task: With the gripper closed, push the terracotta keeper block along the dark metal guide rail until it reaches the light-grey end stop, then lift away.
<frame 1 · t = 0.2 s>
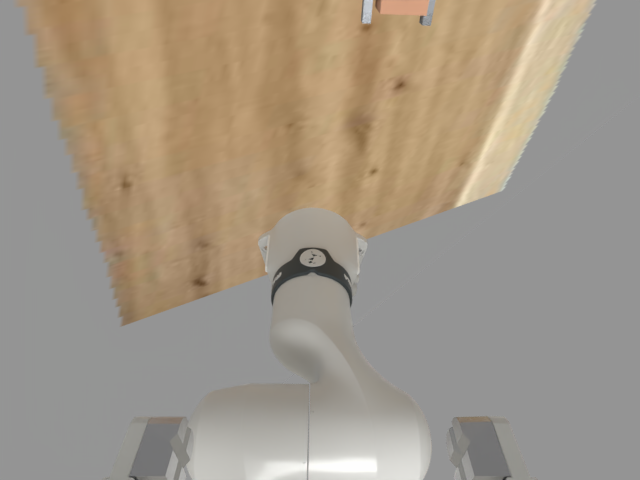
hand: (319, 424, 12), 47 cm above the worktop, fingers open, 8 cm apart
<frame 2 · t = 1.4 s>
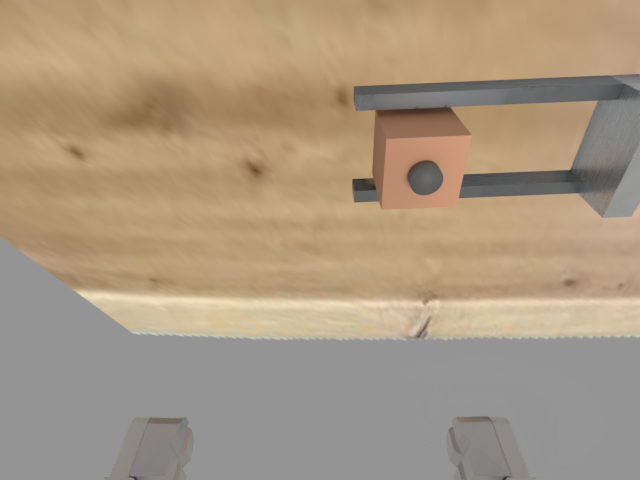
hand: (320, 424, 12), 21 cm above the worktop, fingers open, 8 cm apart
rail: (482, 137, 29), on the worktop
keeper: (407, 140, 29), resting in rail, slide at 0.0 cm
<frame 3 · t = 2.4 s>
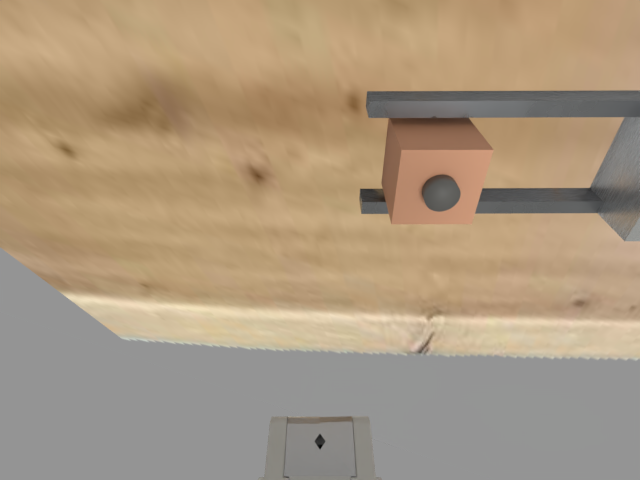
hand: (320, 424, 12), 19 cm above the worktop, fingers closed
rail: (500, 150, 27), on the worktop
keeper: (421, 150, 27), resting in rail, slide at 0.0 cm
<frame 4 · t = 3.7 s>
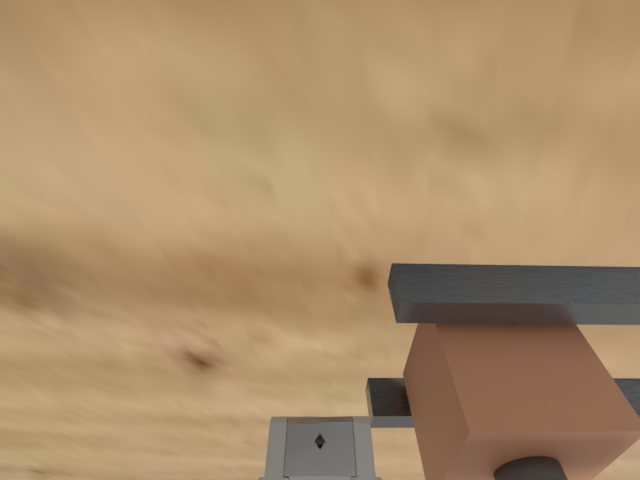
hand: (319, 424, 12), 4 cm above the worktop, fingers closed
rail: (598, 337, 16), on the worktop
keeper: (472, 336, 16), resting in rail, slide at 0.0 cm
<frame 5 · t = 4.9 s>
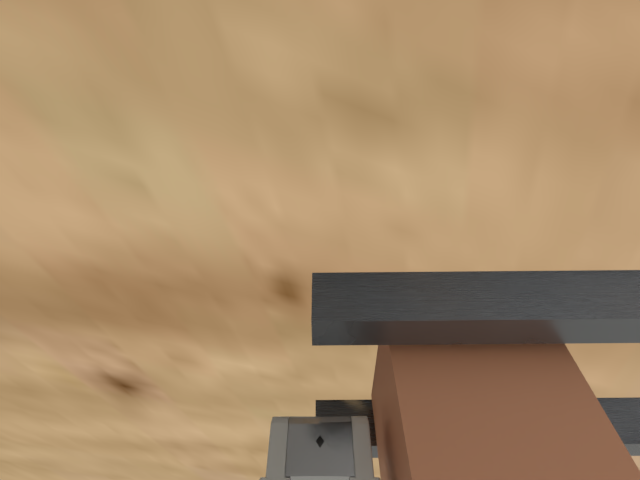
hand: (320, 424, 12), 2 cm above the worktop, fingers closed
rail: (580, 353, 14), on the worktop
keeper: (446, 354, 14), resting in rail, slide at 0.7 cm, touching gripper
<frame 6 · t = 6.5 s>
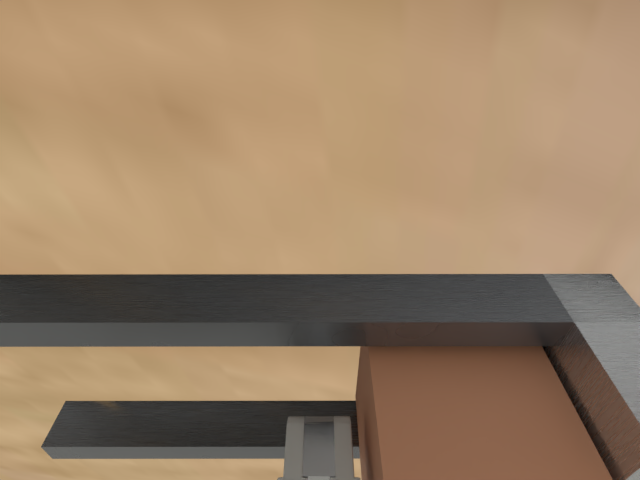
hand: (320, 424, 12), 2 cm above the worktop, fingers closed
rail: (295, 356, 14), on the worktop
keeper: (429, 355, 14), resting in rail, slide at 10.2 cm, touching gripper
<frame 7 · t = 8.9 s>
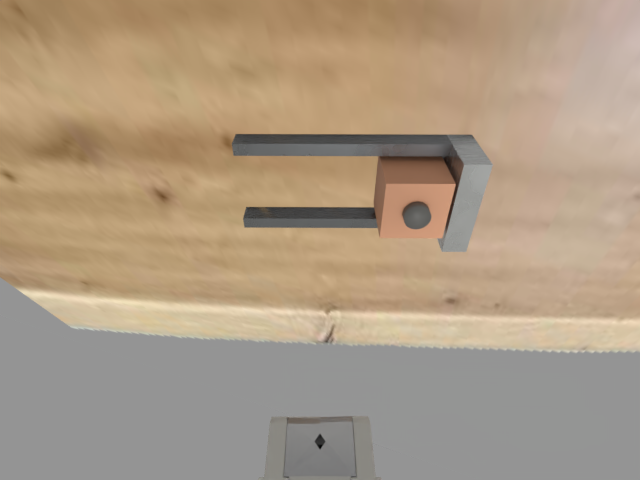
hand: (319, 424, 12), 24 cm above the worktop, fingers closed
rail: (351, 178, 34), on the worktop
keeper: (404, 178, 34), resting in rail, slide at 10.0 cm
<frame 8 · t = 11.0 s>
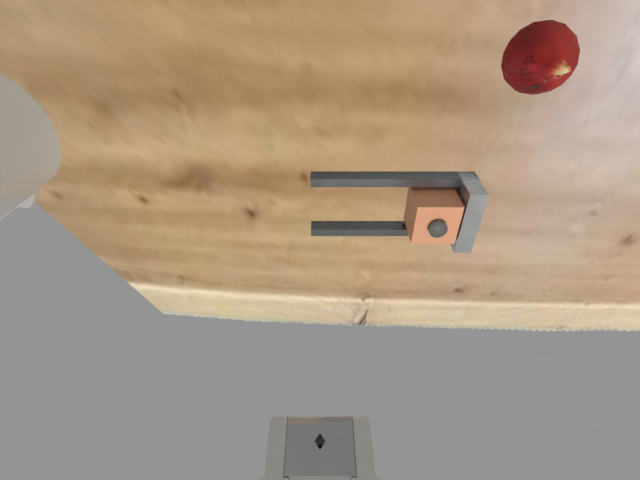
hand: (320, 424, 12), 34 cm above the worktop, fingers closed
onion: (520, 47, 37), on the worktop
rail: (388, 200, 47), on the worktop
keeper: (426, 200, 47), resting in rail, slide at 10.0 cm
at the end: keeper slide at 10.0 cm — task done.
